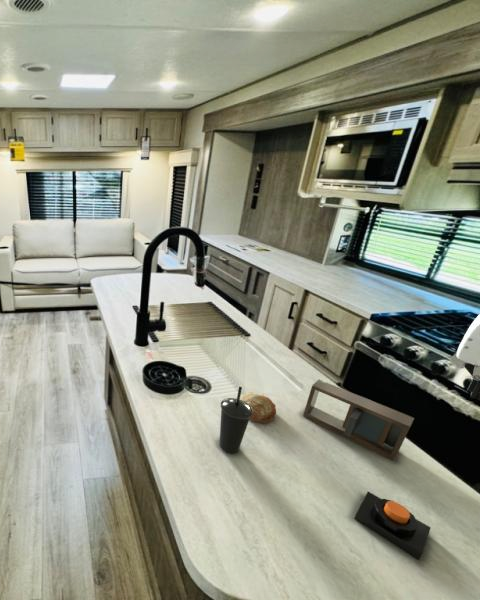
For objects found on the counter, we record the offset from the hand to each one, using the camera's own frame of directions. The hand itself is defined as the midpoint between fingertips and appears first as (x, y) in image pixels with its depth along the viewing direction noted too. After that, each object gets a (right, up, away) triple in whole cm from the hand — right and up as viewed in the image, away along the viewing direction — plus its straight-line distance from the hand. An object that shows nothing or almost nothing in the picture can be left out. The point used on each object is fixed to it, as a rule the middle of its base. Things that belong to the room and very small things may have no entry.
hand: (476, 396), depth 64 cm
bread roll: (-25, -16, +35) cm, 46 cm away
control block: (-16, -29, +2) cm, 33 cm away
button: (-16, -25, +1) cm, 30 cm away
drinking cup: (-40, -21, +23) cm, 51 cm away
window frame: (-4, -19, +27) cm, 33 cm away
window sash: (-5, -19, +21) cm, 29 cm away
